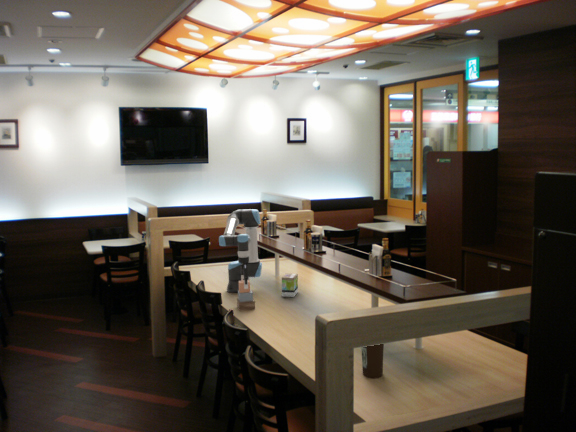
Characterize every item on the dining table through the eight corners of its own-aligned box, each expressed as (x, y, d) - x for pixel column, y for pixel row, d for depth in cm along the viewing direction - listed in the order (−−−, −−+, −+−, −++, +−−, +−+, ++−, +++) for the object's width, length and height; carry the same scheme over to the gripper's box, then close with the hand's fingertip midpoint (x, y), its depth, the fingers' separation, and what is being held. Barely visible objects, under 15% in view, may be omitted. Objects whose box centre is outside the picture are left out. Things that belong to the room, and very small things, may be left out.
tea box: (294, 297, 387) (294, 277, 385) (281, 296, 389) (281, 277, 387) (298, 291, 401) (297, 273, 400) (285, 291, 403) (285, 273, 402)
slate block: (238, 298, 365) (237, 290, 364) (250, 297, 367) (250, 289, 366) (240, 302, 356) (239, 293, 356) (253, 300, 358) (252, 292, 358)
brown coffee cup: (380, 368, 251) (379, 319, 249) (386, 378, 241) (386, 326, 238) (358, 370, 250) (358, 320, 247) (364, 379, 240) (364, 327, 237)
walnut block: (237, 306, 366) (236, 298, 366) (252, 305, 369) (252, 297, 368) (239, 311, 356) (239, 302, 355) (255, 309, 358) (254, 301, 358)
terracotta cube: (238, 290, 364) (238, 280, 363) (248, 289, 365) (248, 280, 365) (240, 293, 357) (239, 283, 356) (250, 292, 359) (249, 282, 358)
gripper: (235, 253, 370) (237, 282, 372) (240, 260, 346) (241, 291, 348) (246, 253, 371) (247, 281, 374) (251, 259, 347) (252, 290, 350)
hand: (244, 286), depth 361 cm, fingers open, 13 cm apart
